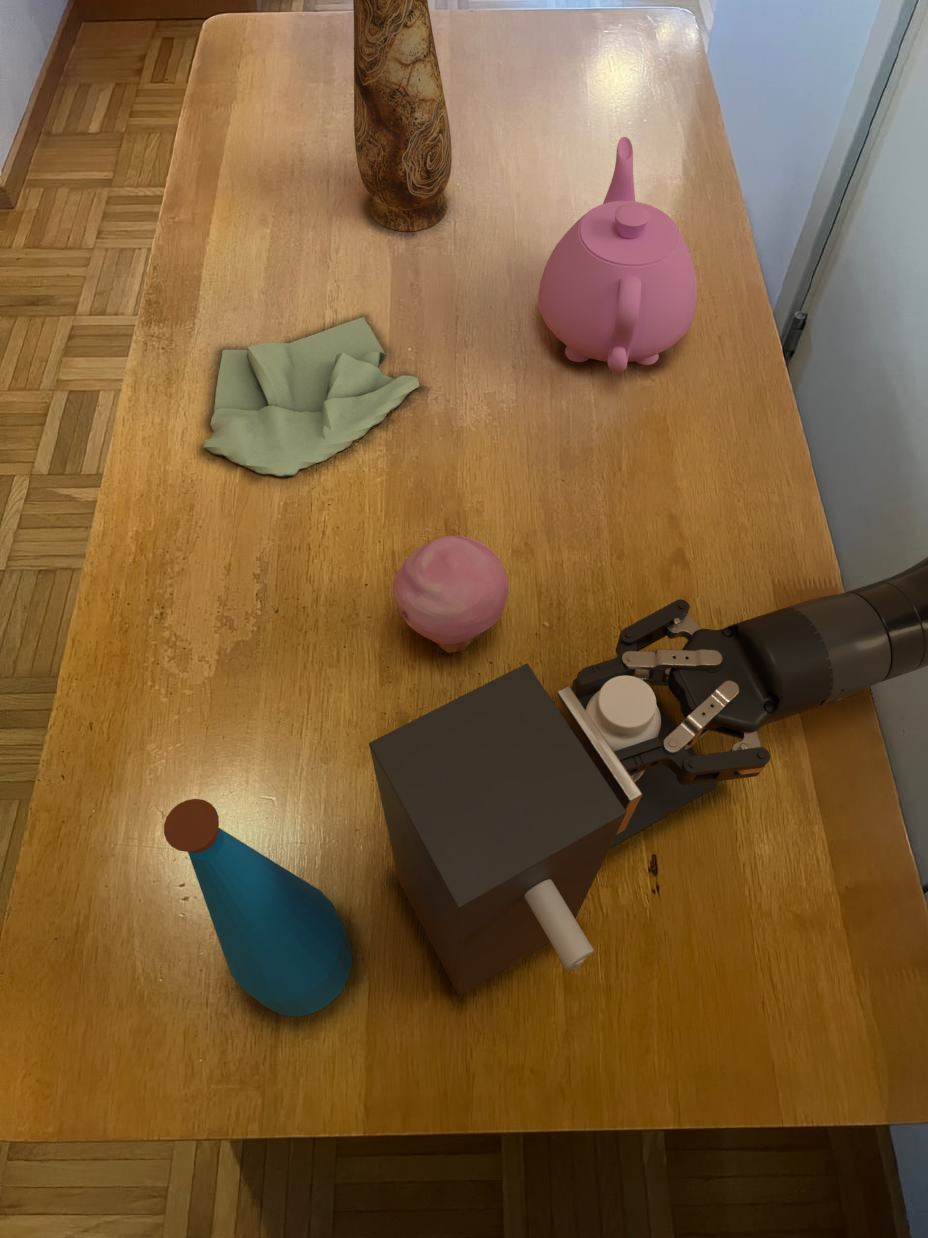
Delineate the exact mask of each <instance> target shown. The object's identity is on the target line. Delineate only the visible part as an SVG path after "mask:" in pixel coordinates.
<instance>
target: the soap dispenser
mask: <svg viewBox="0 0 928 1238" xmlns="http://www.w3.org/2000/svg"><path fill="white" fill-rule="evenodd" d="M368 747H369V750H370V757H371V760H372V764H373V769H374V774H375V779H376V783H377V788H378V792H379V796H380V797H379V798H380V802H381V805H382V811H383V815H384V819H385V824H386V829H387V834H388V838H389V842H390V847H391V851H392V857H393V860H394V861H393V862H394V865H395V869H396V875H397V880H398V883H399V885H400V887H401V889H402V890H403V892H404V894H405V896H406V898H407V900H408V902H409V904H410V906H411V908H412V909H413V912H414V913H415V915H416V917H417V919H418V921H419V923H420V925H421V927H422V929H423V931H424V933H425V935H426V937H427V938H428V940H429V942H430V945H431V946H432V948H433V950H434V952H435V954H436V956H437V959H438V960H439V962H440V964H441V965H442V967H443V969H444V971H445V974H446V975H447V977H448V979H449V982H450V983H451V985H452V986H453V989H454V991H455V993H456V995H457V996H458V997H461V996H462V995H464V994H466V993H468V992H469V991H472V990H473V989H475V988H476V987H477V986H479V985H481V984H483V983H484V982H486V981H487V980H489V979H492V977H494V976H496V975H498V974H499V973H501V972H503V971H504V970H506V969H508V968H510V967H511V966H513V965H514V964H516V963H518V962H519V961H521V960H523V959H524V958H526V957H529V956H530V955H531V954H533V953H535V952H536V951H538V950H540V949H542V948H543V947H545V946H546V945H548V944H551V945H552V947H553V949H554V951H555V952H556V954H557V956H558V959H559V963H560V964H561V966H562V967H563V968H565V969H566V970H569V971H575V970H578V969H579V968H580V967H581V966H582V965H583V963H584V961H585V960H586V959H587V958H588V957H591V955H592V954H593V953H594V948H593V946H592V945H591V943H590V941H589V940H588V938H587V937H586V935H585V933H584V932H583V930H582V928H581V926H580V925H579V923H578V921H577V920H576V918H577V916H578V914H579V912H580V910H581V908H582V906H583V904H584V902H585V899H586V897H587V896H588V893H589V891H590V889H591V887H592V885H593V883H594V881H595V879H596V877H597V874H598V873H599V871H600V869H601V866H602V865H603V862H604V860H605V859H606V856H607V854H608V852H609V850H610V849H609V848H610V846H611V844H612V842H613V840H614V838H615V836H616V834H617V831H618V829H619V827H620V825H621V823H622V821H623V819H624V817H625V815H626V813H627V812H626V810H625V809H624V807H623V806H622V804H621V803H620V801H619V800H618V798H617V797H616V795H615V794H614V792H613V791H612V789H611V788H610V786H609V785H608V783H607V782H606V780H605V779H604V777H603V776H602V774H601V773H600V771H599V770H598V768H597V767H596V765H595V764H594V762H593V761H592V759H591V758H590V756H589V755H588V753H587V752H586V750H585V749H584V747H583V746H582V744H581V743H580V741H579V740H578V738H577V737H576V735H575V734H574V732H573V731H572V729H571V728H570V726H569V725H568V723H567V722H566V720H565V719H564V717H563V716H562V714H561V713H560V711H559V710H558V708H557V707H556V705H555V704H554V701H553V699H552V698H551V696H550V695H549V694H548V691H547V690H546V688H545V687H544V685H543V684H542V683H541V681H540V680H539V679H538V677H537V676H536V674H535V673H534V670H532V668H531V667H530V665H529V663H525V664H522V665H521V666H518V667H517V668H514V669H513V670H511V671H508V672H507V673H505V674H503V675H501V676H499V677H497V678H495V679H492V680H490V681H489V682H487V683H485V684H483V685H481V686H479V687H476V688H475V689H473V690H471V691H469V692H467V693H465V694H463V695H461V696H459V697H457V698H455V699H453V700H451V701H449V702H447V703H445V704H443V705H441V706H439V707H438V708H436V709H433V710H431V711H429V712H427V713H425V714H424V715H421V716H419V717H418V718H416V719H414V720H413V719H412V720H411V721H409V722H408V723H405V724H403V725H402V726H400V727H398V728H396V729H393V730H392V731H390V732H388V733H386V734H383V735H382V736H380V737H377V738H376V739H373V740H372V741H370V742H369V743H368Z"/></svg>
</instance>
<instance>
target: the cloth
mask: <svg viewBox="0 0 928 1238" xmlns="http://www.w3.org/2000/svg"><path fill="white" fill-rule="evenodd" d="M386 356H387V354H386V352H385V350H384V349H383V347H382V346H381V343H380V341H379V340H378V338H377V336H376V335H375V334H374V332H373V330H372V328H371V326H370V325H369V324H368V322H367V321H366V319H365V317H364V316H362V317H360V318H357V319H354V320H350V321H348V322H344V323H342V324H339V325H336V326H334V327H331V328H328V329H325V330H322V331H320V332H317V333H314V334H312V335H309V336H305V337H302V338H300V339H297V340H294V341H291V342H279V341H278V342H276V341H274V342H271V341H269V342H268V341H267V342H266V341H264V342H261V343H258V344H253V345H250V346H247V349H223V350H222V354H221V359H220V364H219V369H218V375H217V376H218V377H217V382H216V389H215V399H214V400H215V402H214V408H213V415H212V417H211V420H210V426H211V428H212V430H213V433H212V436H211V437H209V438H207V439H205V441H204V444H203V449H204V450H206V451H208V452H209V453H211V454H212V455H216V456H219V457H222V458H223V459H226V460H227V461H229V462H231V463H233V464H236V465H240V466H242V467H245V468H246V469H248V470H249V471H250V470H251V471H252V472H254V474H256V475H257V474H258V475H263V476H264V475H273V476H276V477H279V478H280V477H281V478H284V477H295V476H296V475H297V473H298V472H299V470H301V469H307V468H311V467H312V466H314V465H316V464H318V463H321V462H325V461H327V460H329V459H330V458H333V457H334V456H335V455H336V454H337V453H339V452H341V451H345V450H346V449H348V448H349V447H351V445H352V444H353V443H354V441H356V440H359V439H360V438H363V437H365V436H366V435H367V434H368V432H370V429H371V428H372V427H375V426H377V425H378V424H380V423H383V422H384V420H385V419H386V417H387V416H388V414H389V412H390V411H393V410H394V409H396V408H397V407H400V405H401V404H402V403H403V402H404V400H405V399H406V397H407V395H409V394H410V393H411V392H412V391H414V390H415V389H417V388H419V387H420V383H419V378H418V377H416V376H413V375H404V374H401V375H400V376H398V377H397V378H393V377H391V376H389V375H386V374H384V372H383V371H382V370H381V369H380V368H379V365H380V364H381V363H382V362H383V361H384V360H385V358H386Z"/></svg>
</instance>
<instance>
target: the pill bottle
mask: <svg viewBox="0 0 928 1238" xmlns="http://www.w3.org/2000/svg"><path fill="white" fill-rule="evenodd" d="M656 701H657V698H656V695H655V692H654V691H653V689H652V688H651V686H650V685H649V683H648V682H644V681H643V680H641V679H639V678H636V677H633V676H618V677H614V678H612V679H610V680H609V681H607V682H606V683H605V684H604V685H603V686H602V688H601V690H599V691H598V692H597V693H595V694H594V696H593V697H592V698H591V699H590V701H589V703H588V705H587V707H586V712H587V713H588V715H589V716H590V718H591V719H592V721H593V722H594V724H595V725H596V726H597V728H598V729H599V731H600V732H601V734H602V735H603V737H604V738H605V740H606V741H607V743H608V744H609V746H610V747H611V748H612V750H613V751H617V750H620V749H623V748H626V747H629V746H632V745H635V744H638V743H640V742H643V741H646V740H649V739H652V738H655V737H658V735H659V731H660V727H661V716H660V712H659V709H658V707H657V705H656ZM644 771H645V770H644ZM644 771H641V772H638V773H634V774H632V775H630V776H631V778H632V779H633V781H634V782H635V781H637V780H638V779H639V778H640V777H641V776H642V774H643V773H644Z"/></svg>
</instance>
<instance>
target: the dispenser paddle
mask: <svg viewBox="0 0 928 1238" xmlns="http://www.w3.org/2000/svg"><path fill="white" fill-rule="evenodd" d="M571 688H572V687H570V686H569V685H568V686H566V687H564V688H562V689H559V690H558V691H556V694H555V698H554V701H555V703H554V704H555V705H556V707H557V708H558V710H559V711H560V713H561V714H562V716H563V717H564V719H565V720H566V722H567V723H568V725H569V726H570V728H571V729H572V731H573V732H574V734H575V735H576V737H577V738H578V740H579V741H580V743H581V744H582V746H583V747H584V749H585V750H586V752H587V753H588V755H589V756H590V758H591V759H592V761H593V762H594V764H595V765H596V767H597V768H598V770H599V771H600V773H601V774H602V776H603V777H604V779H605V780H606V782H607V783H608V785H609V786H610V788H611V789H612V791H613V792H614V794H615V795H616V797H617V798H618V800H619V801H620V803H621V804H622V806H623V807H624V809H625V810H626V812H627V813H626V815H625V817H624V819H623V821H622V823H621V825H620V827H619V829H618V831H617V834H619V833H621V832H622V831H624V830H625V828H626V826H627V824H628V822H629V820H630V818H631V816H632V814H633V812H634V810H635V808H636V806H637V804H638V802H639V800H640V798H641V796H642V792H641V791H640V790H639V788H638V787H637V785H636V784H635V782H634V781H633V779H632V778H631V776H630V775H629V773H628V772H627V770H626V769H625V768H624V766H623V765H622V763H621V762H620V760H619V759H618V757H617V756H616V754H615V753H614V751H613V750H612V748H611V747H610V746H609V744H608V743H607V741H606V740H605V738H604V737H603V735H602V734H601V732H600V731H599V729H598V728H597V726H596V725H595V724H594V722H593V721H592V719H591V718H590V716H589V715H588V713H587V712H586V710H585V709H584V707H583V706H582V704H581V703H580V702H579V700H578V699H577V697H576V696H575V694H574V693H573V691H572V690H571ZM617 834H616V835H617Z"/></svg>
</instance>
